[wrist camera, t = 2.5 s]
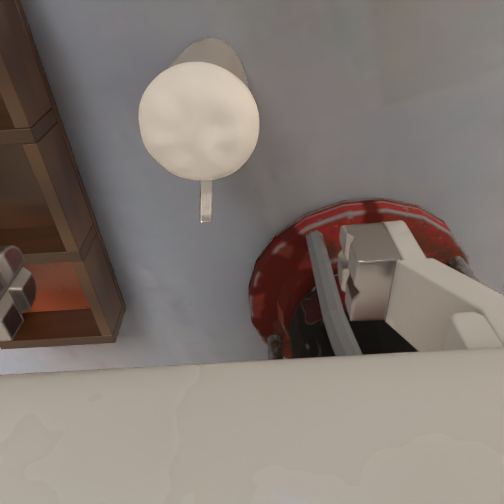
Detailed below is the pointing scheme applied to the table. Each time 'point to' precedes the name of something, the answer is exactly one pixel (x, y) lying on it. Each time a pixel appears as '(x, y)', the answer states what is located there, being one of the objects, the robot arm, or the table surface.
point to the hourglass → (333, 281)
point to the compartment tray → (48, 206)
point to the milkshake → (200, 117)
